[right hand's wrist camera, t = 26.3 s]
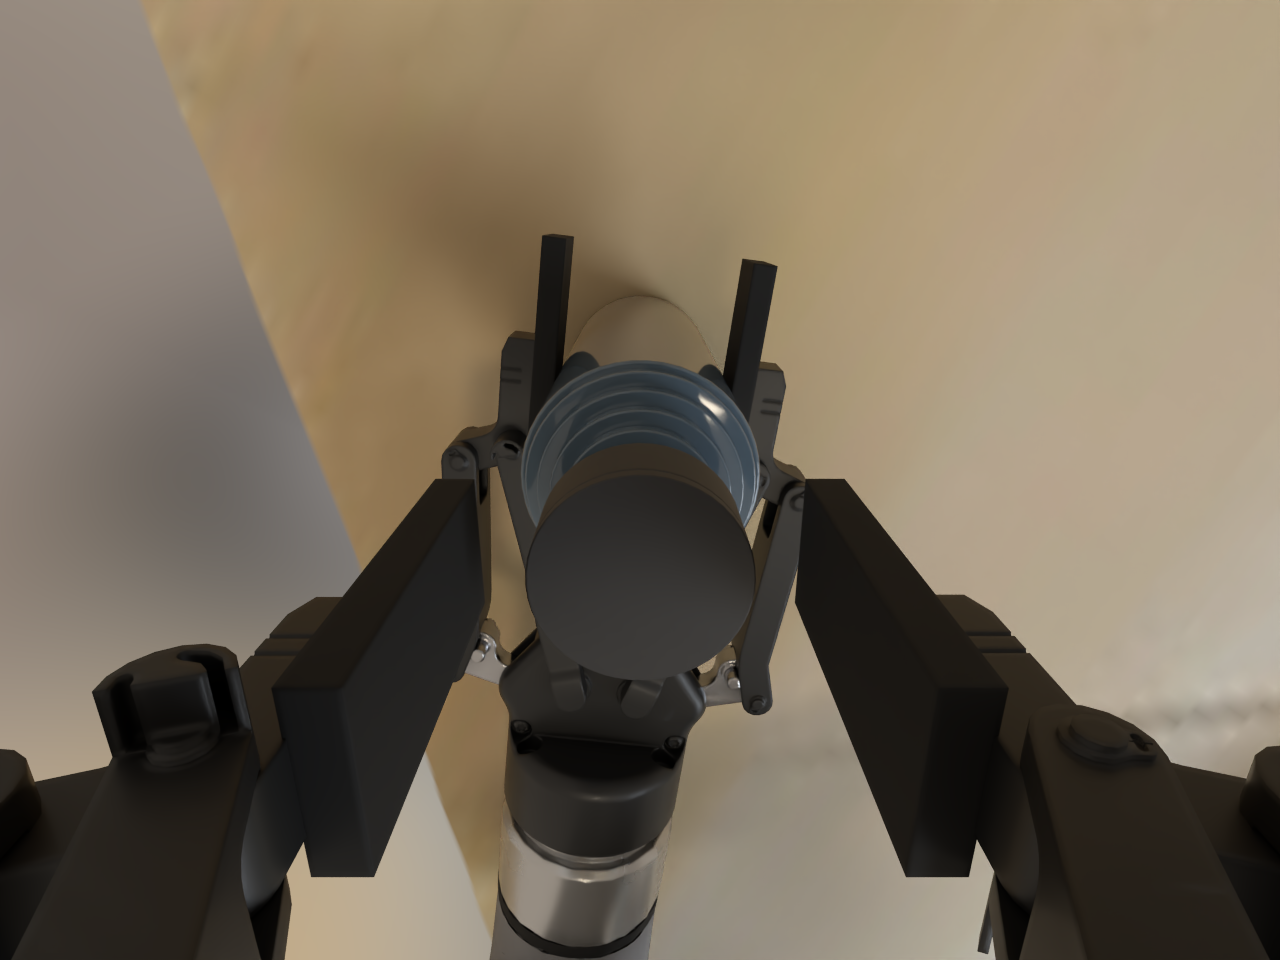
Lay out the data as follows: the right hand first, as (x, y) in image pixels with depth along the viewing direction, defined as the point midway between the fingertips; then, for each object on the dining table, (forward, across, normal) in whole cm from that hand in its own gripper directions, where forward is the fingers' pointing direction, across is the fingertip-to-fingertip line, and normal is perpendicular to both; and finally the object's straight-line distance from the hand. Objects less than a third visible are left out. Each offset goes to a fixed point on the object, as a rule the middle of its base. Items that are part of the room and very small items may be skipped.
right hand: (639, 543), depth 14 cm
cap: (-1, 0, 0) cm, 1 cm away
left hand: (+12, -1, -5) cm, 13 cm away
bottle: (+19, 0, 0) cm, 19 cm away
